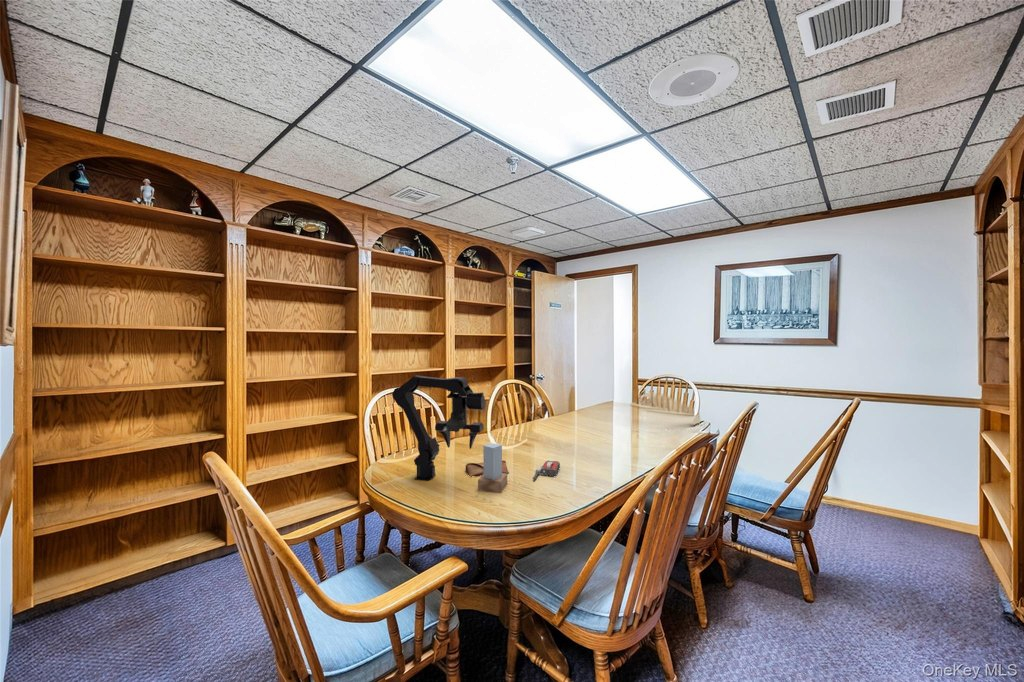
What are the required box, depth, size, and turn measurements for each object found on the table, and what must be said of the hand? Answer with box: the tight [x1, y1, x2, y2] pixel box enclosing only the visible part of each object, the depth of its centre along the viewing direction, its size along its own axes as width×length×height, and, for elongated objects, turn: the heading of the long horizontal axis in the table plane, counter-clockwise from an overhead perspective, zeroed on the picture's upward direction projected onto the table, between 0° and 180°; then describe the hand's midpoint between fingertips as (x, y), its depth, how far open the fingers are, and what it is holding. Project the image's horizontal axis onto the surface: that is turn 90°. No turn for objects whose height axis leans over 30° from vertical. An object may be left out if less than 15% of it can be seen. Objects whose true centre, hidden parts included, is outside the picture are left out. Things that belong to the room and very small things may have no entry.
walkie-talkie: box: [532, 460, 561, 481], centre depth 165 cm, size 9×4×20 cm
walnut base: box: [477, 473, 508, 493], centre depth 151 cm, size 9×9×4 cm
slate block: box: [482, 442, 503, 480], centre depth 151 cm, size 5×5×12 cm
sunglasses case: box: [465, 460, 510, 478], centre depth 168 cm, size 18×7×7 cm
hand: (459, 447), depth 158 cm, fingers open, 9 cm apart
